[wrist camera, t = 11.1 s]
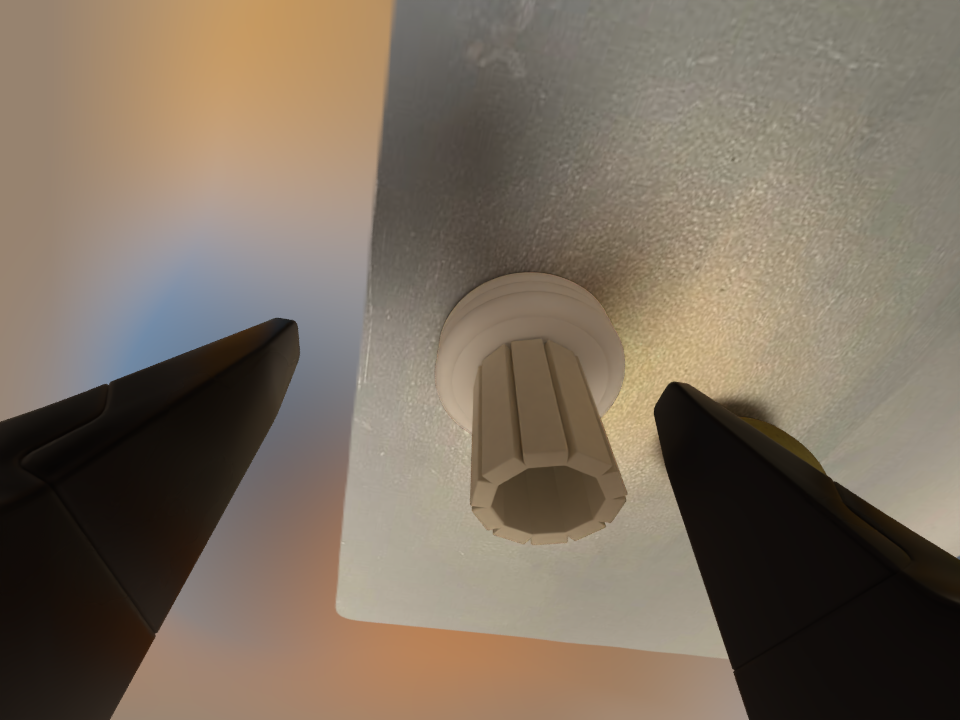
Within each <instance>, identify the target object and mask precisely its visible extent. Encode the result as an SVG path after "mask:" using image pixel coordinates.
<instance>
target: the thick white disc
mask: <svg viewBox="0 0 960 720" xmlns="http://www.w3.org/2000/svg"><path fill="white" fill-rule="evenodd" d="M531 339H542V341H543V345H544V344H545V343H546V342H547V341H548V340H551V341H553V342H555V343H557V344H559V345H561V346H563V347H565V348H567V349H569V350H571V351H573V352H574V355H575V356H578V358H579V361H580V363H581V366H582V368H583V371H584V373H585V376H586V378H587V381H588V384H589V387H590V390H591V393H592V395H593V398H594V401H595V404H596V407H597V409H598V412H599V415H600V418H601V417H602V416H603V415H604V414H605V413H606V412H607V411H608V410H609V408H610V407H611V406H612V405H613V403H614V401H615V400H616V398H617V396H618V394H619V392H620V389H621V387H622V384H623V379H624V374H625V356H624V349H623V346H622V342H621V339H620V337H619V335H618V333H617V331H616V330H615V328H614V326H613V324H612V322H611V320H610V319H609V317H608V315H607V313H606V311H605V309H604V308H603V307H602V305H601V304H600V302H599V301H598V300H597V299H596V298H595V297H594V296H593V295H592V294H591V293H590V292H588V291H587V290H586V289H584V288H583V287H581V286H580V285H578V284H576V283H574V282H572V281H570V280H567V279H565V278H562V277H559V276H555V275H551V274H546V273H538V272H522V273H513V274H509V275H505V276H500V277H498V278H495V279H492V280H490V281H488V282H486V283H484V284H482V285H480V286H478V287H477V288H475V289H474V290H472V291H471V292H469V293H468V294H467V295H466V296H465V297H464V298H463V299H462V300H461V301H460V302H459V303H458V304H457V305H456V306H455V308H454V309H453V310H452V311H451V313H450V315H449V316H448V318H447V320H446V321H445V324H444V326H443V329H442V331H441V336H440V340H439V347H438V352H437V359H436V364H435V384H436V388H437V392H438V395H439V398H440V400H441V403H442V405H443V407H444V408H445V410H446V411H447V413H448V414H449V416H450V417H451V418H452V419H453V420H454V421H455V422H456V423H457V424H458V425H459V426H460V427H462V428H463V429H464V430H466V431H467V432H469V433H470V434H472V421H473V387H474V383H475V379H476V375H477V371H478V367H479V366H482V360H484V359H485V358H486V357H488V356H489V355H490V354H492V353H493V352H494V351H496V350H497V349H498V348H499V347H501V346H502V345H503V344H505V345H507V346H508V347H509V348H510V349H511V342H512V341H521V340H531Z"/></svg>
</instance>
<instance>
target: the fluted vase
mask: <svg viewBox="0 0 960 720" xmlns="http://www.w3.org/2000/svg"><path fill="white" fill-rule="evenodd" d="M625 495H627V491H626V488H625V485H624V482H623V479H622V477H621V474H620V471H619V468H618V465H617V463H616V460H615V457H614V454H613V451H612V449H611V446H610V443H609V440H608V437H607V435H606V432H605V429H604V426H603V423H602V421H601V418H600V415H599V412H598V409H597V407H596V404H595V401H594V398H593V395H592V393H591V390H590V387H589V384H588V381H587V378H586V376H585V373H584V371H583V368H582V366H581V363H580V361H579V358H578V356H575V355H574V352H573V351H571V350H569V349H567V348H565V347H563V346H561V345H559V344H557V343H555V342H553V341H551V340H548V341H547V342H546V343H545V344H544V345H543V341H542V339H531V340H521V341H512V342H511V349H510V348H509V347H508V346H507V345H505V344H503V345H502V346H501V347H499V348H498V349H497V350H496V351H494V352H493V353H492V354H490V355H489V356H488V357H486V358H485V359H484V360H482V366H479V367H478V371H477V375H476V379H475V383H474V387H473V421H472V455H471V489H470V505H471V506H472V512H473V513H474V514H475V516H476V517H477V518H478V519H479V521H480V522H481V523H482V524H483V526H484V527H485V528H486V529H487V530H492V529H493V535H495V536H499V537H502V538H505V539H508V540H511V541H514V542H517V543H521V544H525V543H526V542H527V541H528V540H530V539H531V544H532V545H542V544H558V543H567V541H568V537H570V538H571V539H573V540H574V541H577V540H579V539H581V538H583V537H586V536H588V535H590V534H592V533H594V532H597V531H599V530H601V529H603V528H605V527H606V525H605V522H608V523H611V522H612V521H613V520H614V518H615V517H616V515H617V514H618V512H619V511H620V509H621V508H622V506H623V505H624V503H625V502H626V497H625Z"/></svg>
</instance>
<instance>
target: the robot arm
mask: <svg viewBox="0 0 960 720" xmlns="http://www.w3.org/2000/svg"><path fill="white" fill-rule="evenodd" d="M299 356H300V346H299V334H298V326H297V323H296V322H295V321H294V320H289V319H282V318H274V319H271V320H269V321H266V322H264V323H261V324H259V325H256V326H254V327H251V328H248V329H246V330H243V331H241V332H238V333H235V334H233V335H230V336H228V337H225V338H223V339H220V340H217V341H215V342H212V343H210V344H207V345H204V346H202V347H199V348H197V349H194V350H191V351H189V352H186V353H184V354H181V355H179V356H176V357H173V358H171V359H168V360H166V361H163V362H161V363H158V364H155V365H153V366H150V367H148V368H145V369H142V370H140V371H137V372H135V373H132V374H129V375H127V376H124V377H122V378H119V379H117V380H114V381H112V382H110V384H109V385H108V384H103V385H101V386H98V387H96V388H93V389H91V390H88V391H86V392H83V393H80V394H78V395H75V396H72V397H70V398H67V399H64V400H62V401H59V402H56V403H53V404H51V405H48V406H45V407H43V408H40V409H37V410H34V411H31V412H28V413H25V414H22V415H19V416H16V417H13V418H10V419H7V420H5V421H1V422H0V720H110V718H111V716H112V715H113V713H114V711H115V709H116V708H117V706H118V704H119V702H120V700H121V698H122V697H123V695H124V693H125V691H126V689H127V688H128V686H129V684H130V682H131V680H132V679H133V676H134V675H135V673H136V671H137V669H138V668H139V666H140V664H141V662H142V660H143V658H144V657H145V655H146V653H147V651H148V649H149V647H150V646H151V644H152V642H153V640H154V639H155V633H157V632H158V630H159V629H160V627H161V625H162V623H163V622H164V620H165V618H166V616H167V614H168V612H169V611H170V609H171V607H172V605H173V604H174V602H175V600H176V598H177V596H178V595H179V593H180V591H181V589H182V587H183V585H184V584H185V582H186V580H187V578H188V576H189V574H190V573H191V571H192V569H193V567H194V565H195V564H196V562H197V560H198V558H199V556H200V555H201V553H202V551H203V549H204V547H205V546H206V544H207V542H208V540H209V538H210V536H211V535H212V533H213V531H214V529H215V527H216V525H217V524H218V522H219V520H220V518H221V516H222V514H223V513H224V511H225V509H226V507H227V506H228V504H229V502H230V500H231V498H232V496H233V495H234V493H235V491H236V489H237V487H238V486H239V484H240V482H241V480H242V478H243V477H244V475H245V473H246V471H247V469H248V468H249V466H250V464H251V462H252V460H253V458H254V456H255V455H256V453H257V451H258V449H259V448H260V446H261V444H262V442H263V440H264V438H265V437H266V435H267V433H268V431H269V429H270V427H271V426H272V424H273V422H274V420H275V418H276V416H277V414H278V411H279V409H280V407H281V404H282V401H283V399H284V396H285V394H286V391H287V389H288V386H289V383H290V381H291V379H292V376H293V374H294V371H295V368H296V366H297V363H298V360H299ZM654 417H655V422H656V426H657V431H658V435H659V440H660V445H661V449H662V454H663V459H664V463H665V467H666V470H667V473H668V477H669V480H670V483H671V486H672V489H673V492H674V495H675V498H676V501H677V504H678V507H679V510H680V513H681V516H682V519H683V522H684V525H685V528H686V531H687V534H688V537H689V540H690V543H691V546H692V549H693V552H694V555H695V558H696V561H697V564H698V567H699V570H700V573H701V576H702V579H703V582H704V585H705V588H706V591H707V594H708V597H709V600H710V603H711V606H712V609H713V612H714V615H715V618H716V621H717V624H718V627H719V630H720V633H721V636H722V639H723V642H724V645H725V648H726V651H727V654H728V657H729V660H730V663H731V666H732V669H734V672H733V673H734V676H735V679H736V682H737V685H738V688H739V691H740V694H741V697H742V700H743V703H744V706H745V709H746V712H747V715H748V718H749V720H960V560H959V559H957V558H956V557H954V556H953V555H951V554H949V553H948V552H946V551H944V550H943V549H941V548H940V547H938V546H936V545H935V544H933V543H931V542H930V541H928V540H926V539H925V538H923V537H922V536H920V535H918V534H917V533H915V532H913V531H912V530H910V529H909V528H907V527H906V526H904V525H902V524H901V523H899V522H898V521H896V520H894V519H893V518H891V517H890V516H888V515H886V514H885V513H883V512H882V511H880V510H879V509H877V508H875V507H874V506H872V505H871V504H869V503H868V502H866V501H865V500H863V499H862V498H860V497H859V496H857V495H855V494H854V493H852V492H851V491H849V490H848V489H846V488H845V487H843V486H842V485H840V484H839V483H837V482H835V481H834V482H833V480H832V479H831V478H830V477H828V476H827V475H825V474H824V473H822V472H821V471H819V470H818V469H816V468H815V467H813V466H812V465H810V464H809V463H807V462H806V461H804V460H803V459H801V458H800V457H798V456H797V455H795V454H794V453H792V452H791V451H789V450H788V449H786V448H785V447H783V446H782V445H780V444H779V443H777V442H776V441H774V440H773V439H771V438H769V437H768V436H766V435H765V434H763V433H762V432H760V431H759V430H757V429H756V428H754V427H753V426H751V425H750V424H748V423H747V422H745V421H744V420H742V419H741V418H739V417H738V416H736V415H735V414H733V413H732V412H730V411H729V410H727V409H726V408H724V407H723V406H721V405H720V404H718V403H717V402H715V401H714V400H712V399H711V398H709V397H708V396H706V395H705V394H703V393H702V392H700V391H699V390H697V389H696V388H694V387H693V386H691V385H690V384H687V383H681V382H671V383H670V384H668V386H667V387H666V389H665V390H664V392H663V393H662V395H661V397H660V398H659V400H658V402H657V403H656V405H655V408H654Z"/></svg>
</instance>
